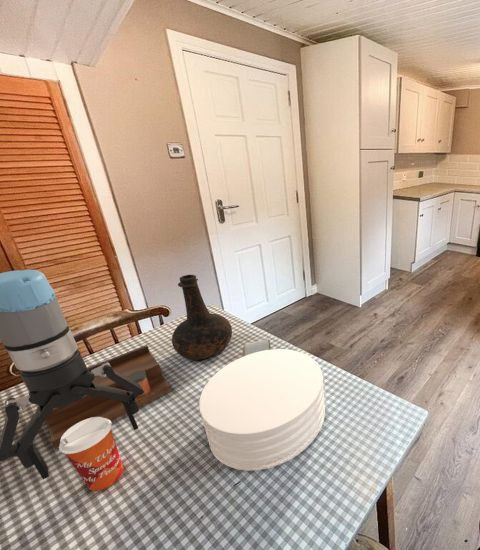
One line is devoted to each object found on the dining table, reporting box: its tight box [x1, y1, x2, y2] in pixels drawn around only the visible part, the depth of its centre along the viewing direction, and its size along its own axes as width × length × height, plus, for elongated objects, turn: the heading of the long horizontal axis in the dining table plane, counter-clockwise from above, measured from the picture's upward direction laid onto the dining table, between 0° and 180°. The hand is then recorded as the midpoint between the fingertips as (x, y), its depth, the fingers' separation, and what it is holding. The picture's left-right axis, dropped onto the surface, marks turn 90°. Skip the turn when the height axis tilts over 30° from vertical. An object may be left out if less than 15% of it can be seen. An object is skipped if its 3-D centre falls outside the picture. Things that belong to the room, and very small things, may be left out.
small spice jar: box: [128, 371, 151, 397], centre depth 81 cm, size 4×4×5 cm
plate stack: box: [198, 348, 326, 472], centre depth 75 cm, size 28×28×12 cm
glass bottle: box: [171, 274, 233, 361], centre depth 99 cm, size 18×18×28 cm
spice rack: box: [45, 344, 173, 449], centre depth 81 cm, size 16×24×9 cm, turn 138°
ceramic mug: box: [242, 338, 272, 357], centre depth 95 cm, size 11×8×8 cm
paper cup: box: [58, 417, 124, 492], centre depth 61 cm, size 8×8×14 cm
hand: (93, 447), depth 60 cm, fingers open, 13 cm apart
